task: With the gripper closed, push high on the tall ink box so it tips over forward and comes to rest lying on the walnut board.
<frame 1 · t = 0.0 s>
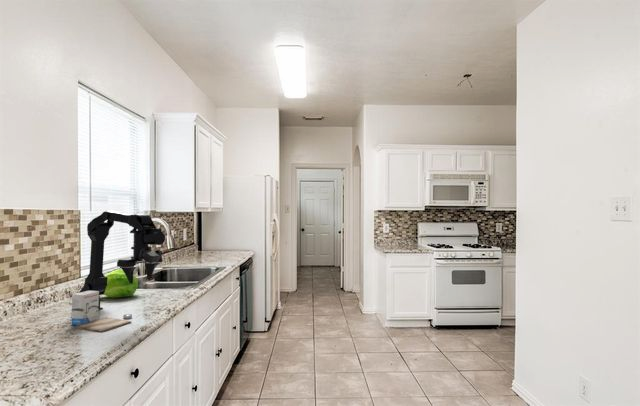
hand: (140, 281, 156), 15 cm above the worktop, fingers open, 9 cm apart
ink box: (85, 322, 148), on the worktop
walnut board: (103, 325, 144), on the worktop
silver domed disc: (127, 318, 154), on the worktop
lettuce: (113, 297, 191), on the worktop
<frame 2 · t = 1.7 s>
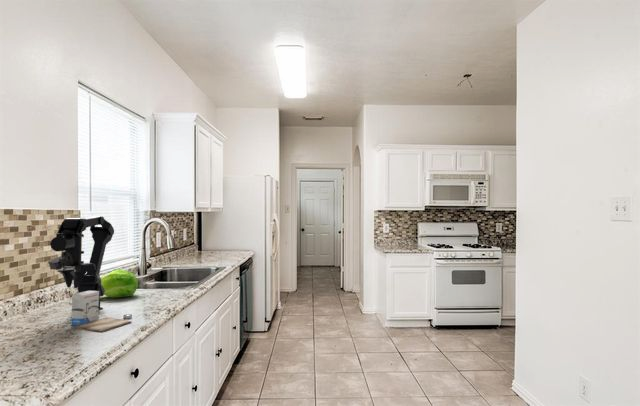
hand: (72, 287, 151), 13 cm above the worktop, fingers open, 4 cm apart
nothing on the worktop moved.
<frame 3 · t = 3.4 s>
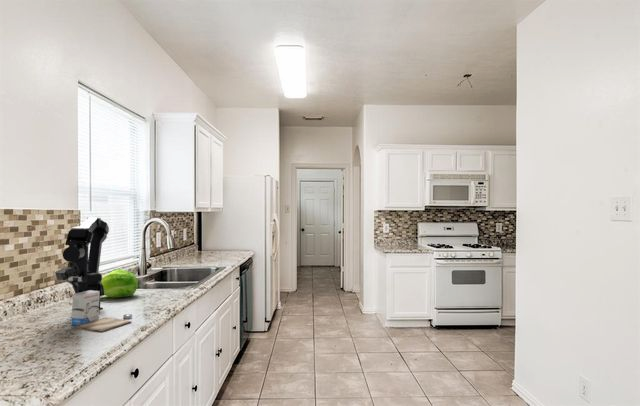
hand: (78, 298, 149), 9 cm above the worktop, fingers closed
ink box: (85, 322, 148), on the worktop, touching gripper
everything else where it was.
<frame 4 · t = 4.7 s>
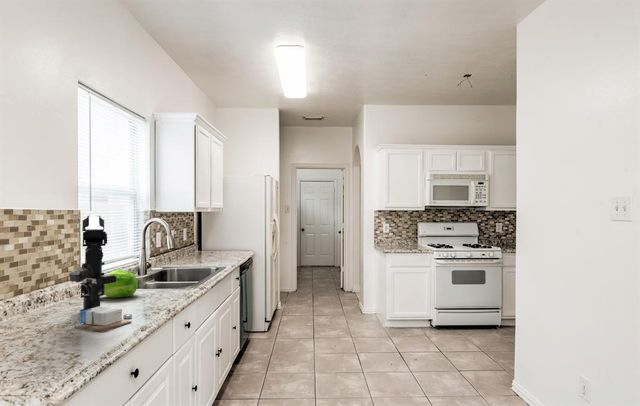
hand: (92, 300, 147), 9 cm above the worktop, fingers closed
ink box: (89, 314, 148), point 3 cm above the worktop, touching walnut board
everything else where it was.
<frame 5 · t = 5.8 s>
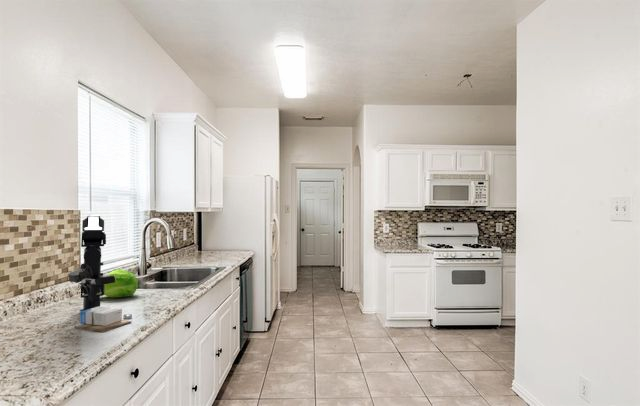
hand: (91, 300, 147), 9 cm above the worktop, fingers closed
nothing on the worktop moved.
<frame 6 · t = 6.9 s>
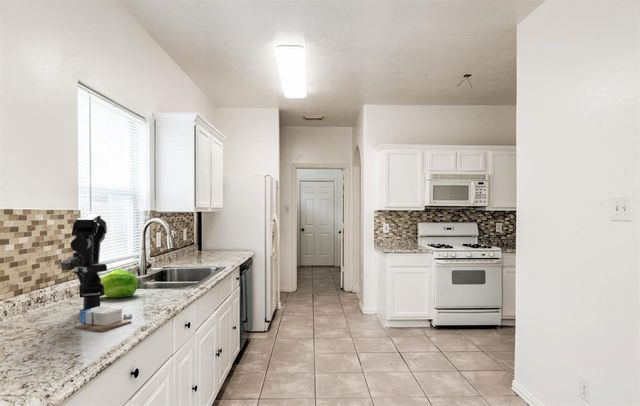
hand: (83, 288, 150), 13 cm above the worktop, fingers closed
nothing on the worktop moved.
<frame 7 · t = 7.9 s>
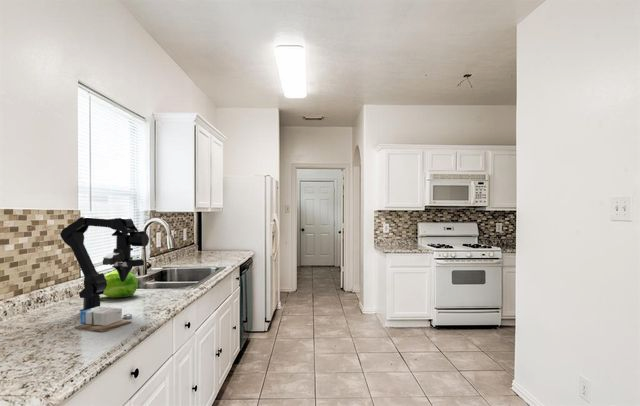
hand: (122, 281, 165), 13 cm above the worktop, fingers closed
nothing on the worktop moved.
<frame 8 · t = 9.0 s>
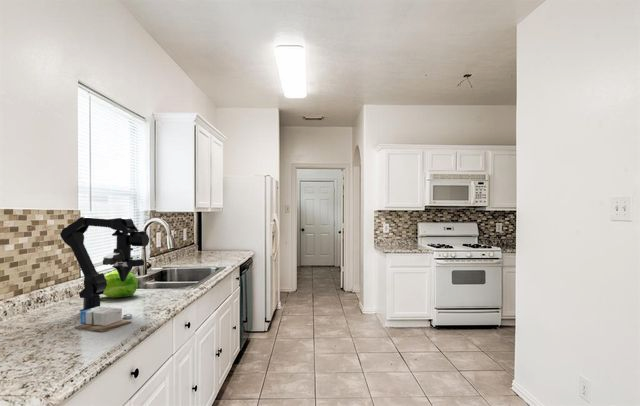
hand: (123, 281, 165), 13 cm above the worktop, fingers closed
nothing on the worktop moved.
at the end: ink box tilted 91°; ink box inside the target area on the walnut board (5.4 cm from its centre), point 3.2 cm above the walnut board's base; the gripper is holding nothing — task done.
